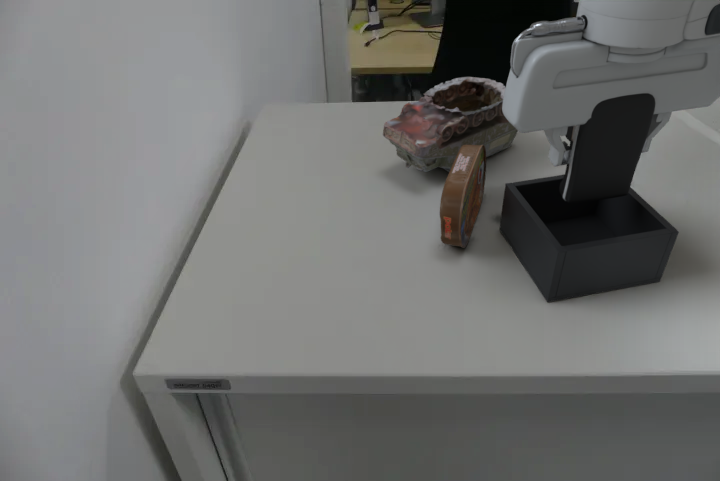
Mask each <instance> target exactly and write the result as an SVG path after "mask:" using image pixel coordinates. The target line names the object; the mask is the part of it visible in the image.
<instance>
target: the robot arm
mask: <svg viewBox="0 0 720 481" xmlns="http://www.w3.org/2000/svg"><path fill="white" fill-rule="evenodd" d="M510 52H511V53H510V61H509V63H510V69H509V73H508V75H507V76H508V77H507V80H506V84H505V87H506V88H505V93H504V98H503V104H502V111H503V114H504V116H505V117H506V119H507V120H508V121H509V122H510V124H512V125H513V126H514V127H515V128H516V129H517V130H518V132H519V133H522V134H526V133H533V132H540V131H543V133H544V134H545V137H546V139H547V141H548V142H549V144H550V145H549V151H548V160H549V162H550V163H551V165H553V167H558V166H559V167H561V166H565V165H566V166H567V164H570V162H571V156H572V148H571V147H570V145H568V143H567V142H566V141H565V140H563V139H562V138H561V137H566V136H565V135H566V134H567V130H568V127H569V126H576V125H583V124H585V123H586V122H587V121H588V119H590V118H591V115H592V112H593V109H594V107H595V106H596V105H597V104H598V103H600V102H601V101H604V100H607V99H611V98H615V97H620V96H626V95H633V94H641V93H649V94H651V95H653V97H654V98H655V110H654V114H653V118H652V121H651V125H650V128H649V132H648V135H647V138H646V141H645V144H644V147H643V150H642V153H641V154H644V153H648V152H649V150H650V148H651V147H650V146H651V144H652V141H653V138H655V137H656V135H658V133H659V132H660V131H661V130H662V129H663V128H664V127H665V126H666V125H667V124H668V122H669V121H670V118H671V116H672V113H673V112H680V111H685V110H692V109H699V108H706V107H711V105H713V104H714V103H715V102H716V101H717V100H718V99H720V0H578V6H577V10H576V14H575V16H574V17H565V18H562V19H558V20H552V21H549V20H540V21H535V22H533V23H531V25H530V26H529V27H528V28H526V29H524V30H523V31H522V32H521V33H520V34H518V36H517V37H516V38H515V39H514V40H513V42H512V45H511V51H510Z"/></svg>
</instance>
